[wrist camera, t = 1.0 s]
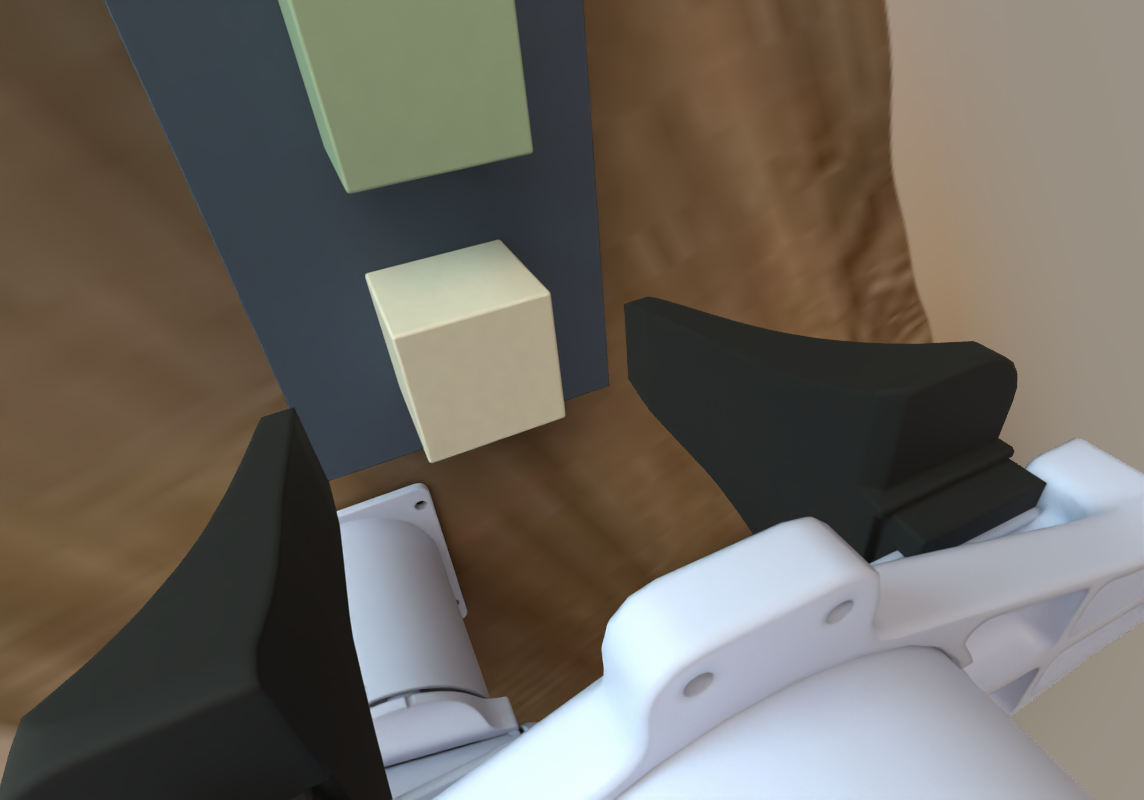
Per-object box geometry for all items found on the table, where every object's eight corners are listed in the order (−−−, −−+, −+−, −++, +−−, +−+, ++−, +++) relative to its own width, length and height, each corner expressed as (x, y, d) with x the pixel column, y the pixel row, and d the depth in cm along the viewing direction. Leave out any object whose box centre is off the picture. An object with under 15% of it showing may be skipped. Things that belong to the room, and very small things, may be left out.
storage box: (566, 337, 27) (609, 385, 24) (311, 416, 24) (323, 483, 21) (506, -198, 17) (568, -232, 14) (57, -172, 14) (9, -207, 11)
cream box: (519, 351, 21) (567, 417, 18) (400, 388, 20) (430, 465, 17) (499, 237, 19) (551, 291, 16) (363, 272, 18) (390, 337, 15)
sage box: (480, 118, 17) (534, 154, 14) (324, 149, 16) (347, 195, 13) (438, -129, 14) (497, -152, 11) (243, -112, 13) (247, -133, 10)
